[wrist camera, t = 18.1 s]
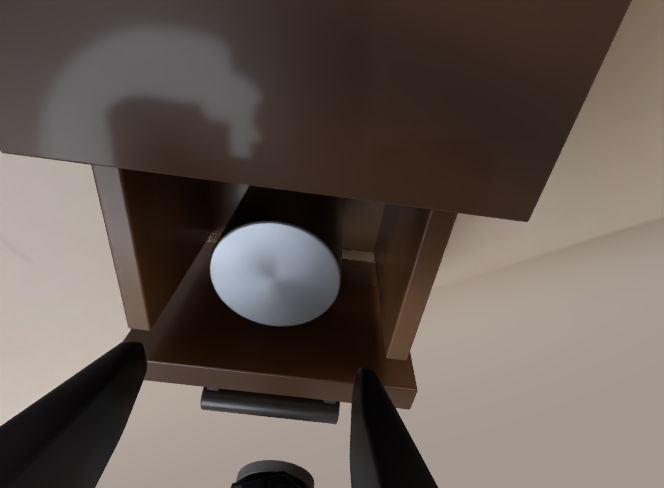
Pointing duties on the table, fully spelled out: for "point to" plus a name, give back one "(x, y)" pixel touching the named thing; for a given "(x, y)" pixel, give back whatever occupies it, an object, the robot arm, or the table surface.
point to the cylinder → (280, 256)
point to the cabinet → (309, 92)
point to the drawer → (253, 338)
